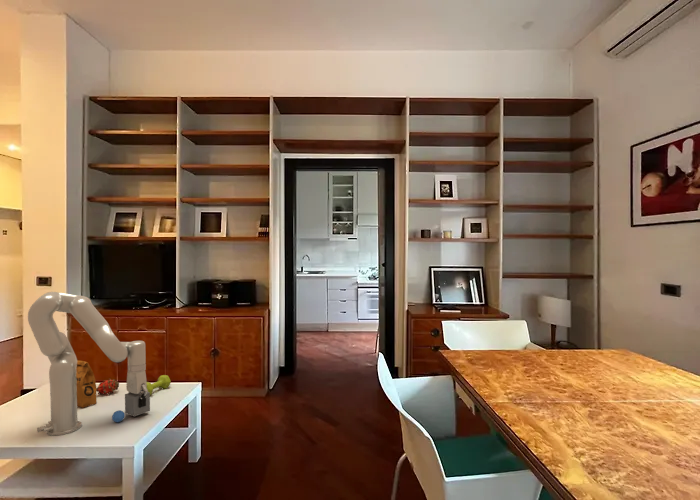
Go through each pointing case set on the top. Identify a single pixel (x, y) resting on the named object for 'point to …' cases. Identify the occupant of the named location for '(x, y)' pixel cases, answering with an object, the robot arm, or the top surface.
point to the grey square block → (136, 404)
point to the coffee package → (85, 385)
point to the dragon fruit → (107, 387)
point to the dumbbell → (159, 383)
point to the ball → (118, 416)
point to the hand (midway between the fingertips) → (137, 404)
